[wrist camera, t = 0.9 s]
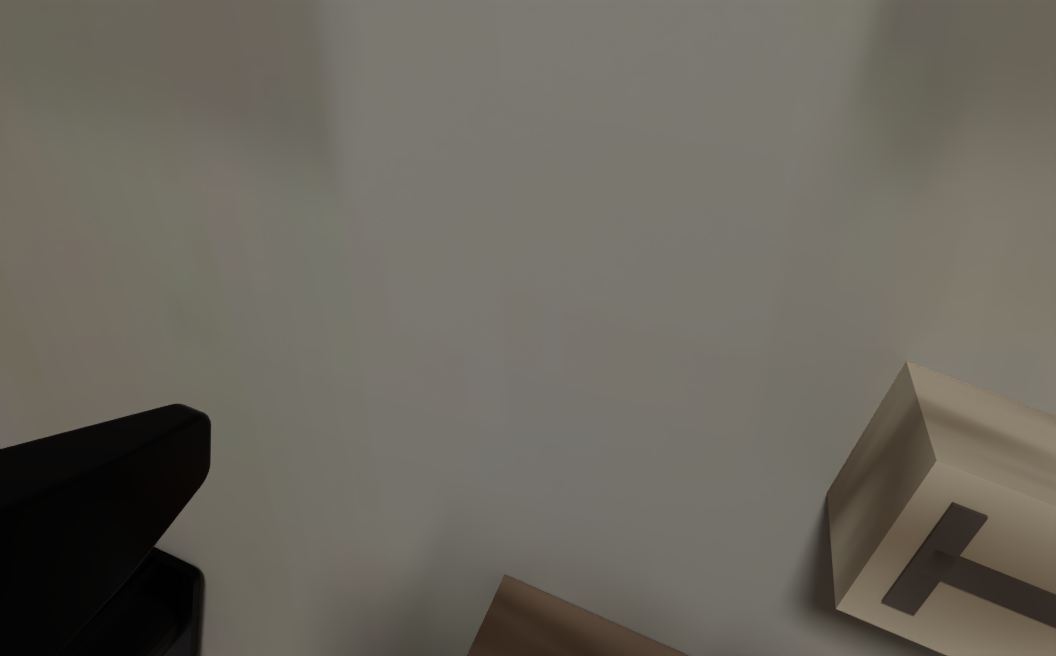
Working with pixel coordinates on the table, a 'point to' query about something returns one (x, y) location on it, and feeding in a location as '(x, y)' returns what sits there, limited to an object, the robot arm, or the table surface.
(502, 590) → the brown wooden plank
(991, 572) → the maple cube
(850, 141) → the table surface
